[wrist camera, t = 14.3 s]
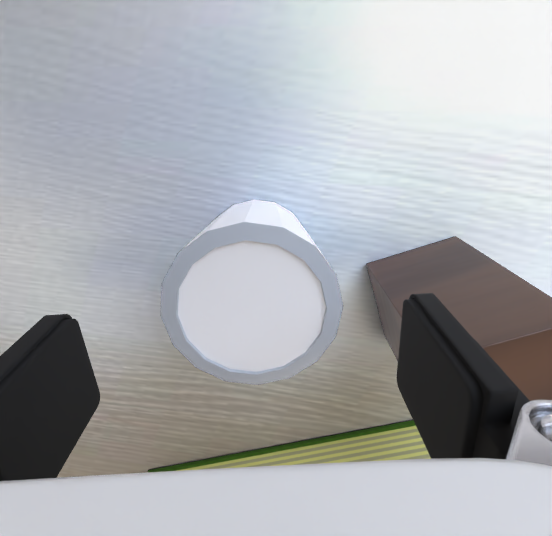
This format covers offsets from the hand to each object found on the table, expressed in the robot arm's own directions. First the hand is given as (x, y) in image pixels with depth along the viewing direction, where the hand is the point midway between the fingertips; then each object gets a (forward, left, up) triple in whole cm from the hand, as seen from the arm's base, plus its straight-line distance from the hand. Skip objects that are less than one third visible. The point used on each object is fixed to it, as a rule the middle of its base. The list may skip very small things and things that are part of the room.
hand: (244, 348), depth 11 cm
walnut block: (+3, +9, -10) cm, 14 cm away
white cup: (+1, 0, -10) cm, 10 cm away
